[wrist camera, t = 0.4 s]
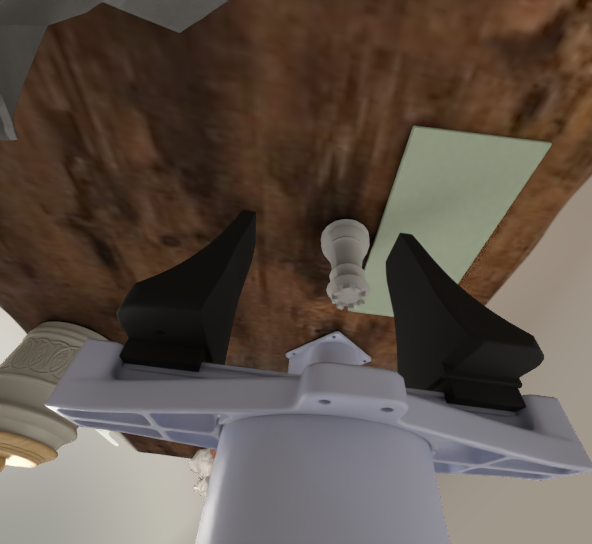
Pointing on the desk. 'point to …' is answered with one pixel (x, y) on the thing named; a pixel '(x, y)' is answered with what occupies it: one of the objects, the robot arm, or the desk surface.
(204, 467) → the white tied sack
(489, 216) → the mat
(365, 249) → the rook chess piece
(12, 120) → the coffeepot
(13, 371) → the jar
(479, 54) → the desk surface
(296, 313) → the desk surface
